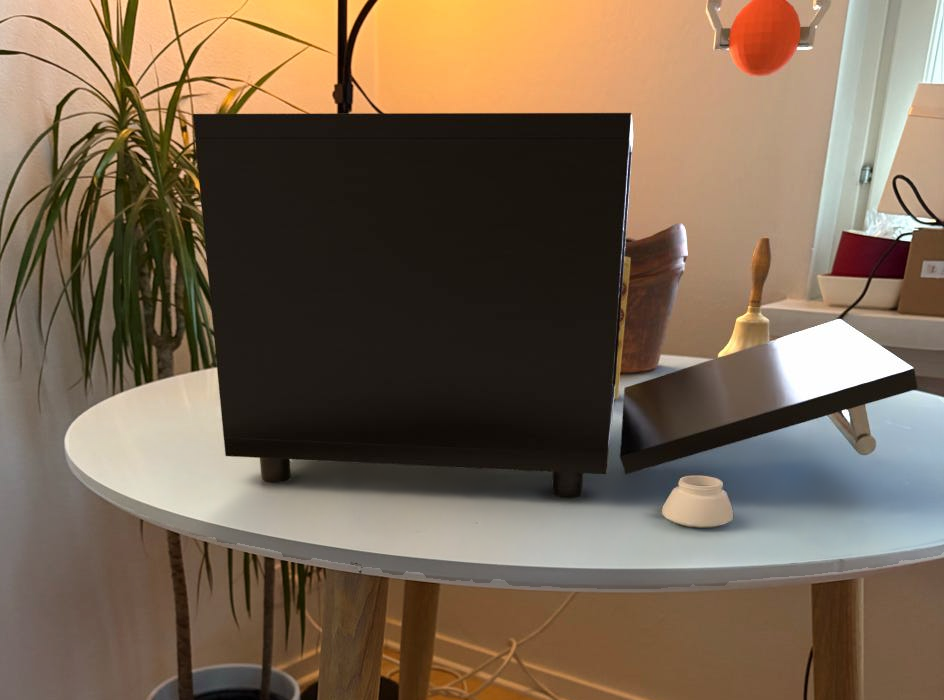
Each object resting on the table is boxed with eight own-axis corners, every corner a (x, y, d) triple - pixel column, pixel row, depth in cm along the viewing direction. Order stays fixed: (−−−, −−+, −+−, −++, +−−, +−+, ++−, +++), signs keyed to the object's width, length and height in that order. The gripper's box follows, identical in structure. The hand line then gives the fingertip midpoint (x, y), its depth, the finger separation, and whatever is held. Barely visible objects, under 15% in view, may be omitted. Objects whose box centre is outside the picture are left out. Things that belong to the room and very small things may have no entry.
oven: (612, 421, 102) (633, 134, 91) (604, 507, 75) (631, 112, 64) (332, 410, 106) (318, 133, 95) (228, 486, 79) (192, 113, 68)
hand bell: (741, 352, 145) (755, 235, 138) (790, 359, 139) (807, 237, 132) (705, 357, 140) (718, 236, 133) (754, 365, 134) (771, 239, 127)
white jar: (694, 535, 69) (746, 524, 71) (698, 494, 68) (751, 484, 70) (647, 516, 73) (698, 506, 75) (651, 477, 72) (703, 468, 74)
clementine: (729, 81, 105) (737, 3, 102) (797, 79, 103) (807, -1, 100) (721, 74, 98) (729, -11, 95) (793, 71, 96) (804, -15, 93)
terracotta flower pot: (518, 357, 139) (522, 219, 131) (652, 354, 142) (664, 219, 135) (551, 380, 123) (558, 224, 116) (701, 376, 126) (718, 225, 119)
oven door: (643, 455, 102) (854, 393, 96) (645, 544, 77) (931, 466, 71) (624, 387, 99) (839, 318, 93) (619, 456, 74) (914, 368, 68)
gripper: (671, -124, 93) (659, 46, 98) (900, -134, 90) (873, 43, 95) (670, -106, 98) (658, 54, 104) (884, -114, 95) (860, 51, 101)
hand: (762, 49), depth 100 cm, fingers closed on clementine, 7 cm apart
